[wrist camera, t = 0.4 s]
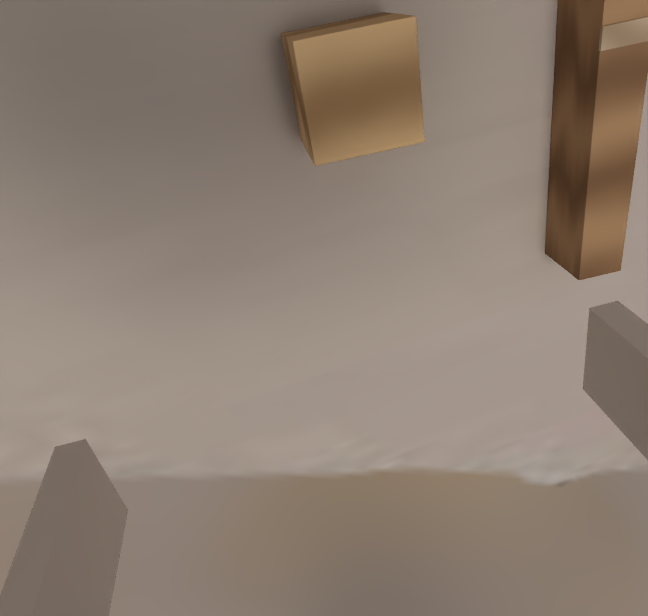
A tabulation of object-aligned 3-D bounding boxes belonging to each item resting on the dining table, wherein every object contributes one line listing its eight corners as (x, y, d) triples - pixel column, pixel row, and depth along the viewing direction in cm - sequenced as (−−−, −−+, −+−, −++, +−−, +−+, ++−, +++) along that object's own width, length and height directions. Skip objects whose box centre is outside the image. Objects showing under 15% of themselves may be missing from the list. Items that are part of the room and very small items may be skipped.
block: (280, 33, 30) (292, 41, 25) (383, 12, 31) (415, 15, 25) (301, 139, 33) (315, 166, 28) (394, 119, 34) (424, 141, 29)
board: (568, -209, 27) (627, -244, 23) (626, -220, 27) (696, -257, 23) (544, 253, 40) (579, 281, 36) (583, 244, 41) (622, 271, 37)
